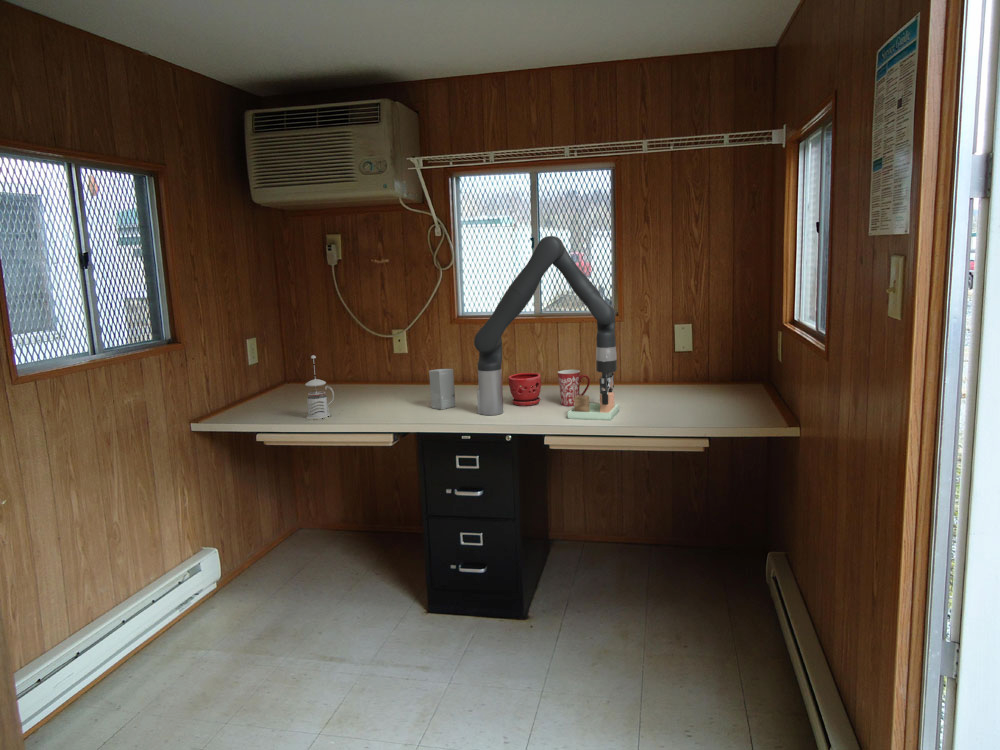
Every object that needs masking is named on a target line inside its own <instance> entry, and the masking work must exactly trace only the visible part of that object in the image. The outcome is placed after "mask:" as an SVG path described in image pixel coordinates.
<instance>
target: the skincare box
mask: <svg viewBox="0 0 1000 750" xmlns="http://www.w3.org/2000/svg"><path fill="white" fill-rule="evenodd" d="M428 373H429V374H428V375H429V388H430V389H429V390H430V405H431V409H436V410H441V409H443V410H445V409H446V408H447V409H450V408H453V407H456V393H455V379H454V378H455V377H454V369H453V368H439V369H438V368H437V369H431V370H428Z"/></svg>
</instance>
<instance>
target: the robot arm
mask: <svg viewBox="0 0 1000 750" xmlns="http://www.w3.org/2000/svg"><path fill="white" fill-rule="evenodd" d="M552 265H553V266H554V267H556V268H557V270H558V271H560V273H561V275H562V276H563V277H564V278H565V280H566V282H567V284H568V285H569V286H570V289H571V290H572V291H573V293H574V294H575V295H576V296H577V297H578V298H579V300H580V301H581V302H582V303H583V304H584V305H585V306H586V307H587V309H588V310H589V313H591V315H592V316H593V318H594V319H595V320H596V327H597V328H596V329H597V330H596V331H597V333H596V339H595V340H596V350H595V351H596V352H595V358H596V359H595V360H596V361H595V362H596V363H595V364H596V365H595V366H596V372H597V373H601V376H600V378H599V379H598V380H599V395H600V394H601V395H602V404H603V405H608V392H613V391H614V388H615V382H614V381H615V379H614V378H615V372H617V371H618V370H617V369H618V365H617V362H618V361H617V357H618V356H617V345H616V343H617V341H616V311H615V308H614V307H613V306H612V305H610V304H608V303H607V301H606V300H605V299H604V298H603V297H602V295H601V292H599V290H598V289H597V287H596V286H595V285H594V283H593V282H591V280H590V279H589V278H588V277H587V275H585V273H584V272H583V271H582V270H581V269H580V268H579V267H578V265H577V263H576V262H575V261H574V260H573V259H572V257H571V255H570V253H569V252H568V250H567V249H566V246H565V245H564V243H563V241H562V240H561V239H560V238H559V237H557V236H554V235H549V236H545V237H542V238H541V239H540V241H538V244H537V246H536V247H535V249H534V251H533V253H532V255H531V256H530V258H529V260H528V262H527V263H526V265H525V266H524V267H523V268H522V270H521V271H520V272H519V273H518V274H517V276H516V277H515V278H514V280H513V281H512V282H511V284H510V285H509V286H508V288H507V289H506V291H505V293H504V294H503V296H502V297H501V298H500V300H499V302H498V304H497V306H496V307H495V309H494V311H493V312H492V314H491V315H490V317H489V318H488V320H487V321H486V322H485V323H484V325H482V326H481V328H480V329H479V330H478V331H477V333H475V337H474V339H473V340H474V341H473V342H474V343H473V344H474V347H475V349H476V351H478V352H479V353H478V355H479V357H478V361H477V379H478V381H477V382H478V389H477V390H476V396H477V397H476V398H477V401H476V402H477V414H478V415H484V416H495V415H496V416H497V415H501V414H503V413H504V395H503V393H504V392H503V390H504V389H503V373H502V365H503V364H502V363H503V340H502V336H503V334H504V332H505V331H506V329H507V328H508V327H509V325H510V324H511V323H513V321H514V320H515V319H516V318H518V316H519V315H520V314H521V313H522V312H523V310H525V308H526V307H527V306H528V304H529V302H530V301H531V300H532V299H533V296H534V294H535V292H536V291H537V289H538V287H539V285H540V283H541V280H542V278H543V277H544V275H545V273H546V272H547V271H548V270H549V268H551V266H552Z"/></svg>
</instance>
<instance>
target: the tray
mask: <svg viewBox="0 0 1000 750" xmlns="http://www.w3.org/2000/svg"><path fill="white" fill-rule="evenodd" d="M589 409H590V412H575V406H572V408H570V410H568V411H567V419H568V420H590V421H592V420H593V421H594V420H595V421H612V420H613V419H614V418H615V416H617V414H618V413H619V412H620V403H615V406H614V407H613V408H612V409H611V411H610V412H609V413H604V412H600V402H599V403H595V402H594V403H591V402H589Z"/></svg>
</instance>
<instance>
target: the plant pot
mask: <svg viewBox="0 0 1000 750" xmlns="http://www.w3.org/2000/svg"><path fill="white" fill-rule="evenodd" d="M508 385H509V391H510V395H511V396H512V400H511V401H512V403H513V404H514V405H516V406H520V407H527V406H534V405H537V404H539V403H540V401H541V397H539V396H540V395H541V391H542V390H541V389H542V377H541V374H540V373H536V372H520V373H516V374H511V375H510V376H508Z"/></svg>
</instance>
